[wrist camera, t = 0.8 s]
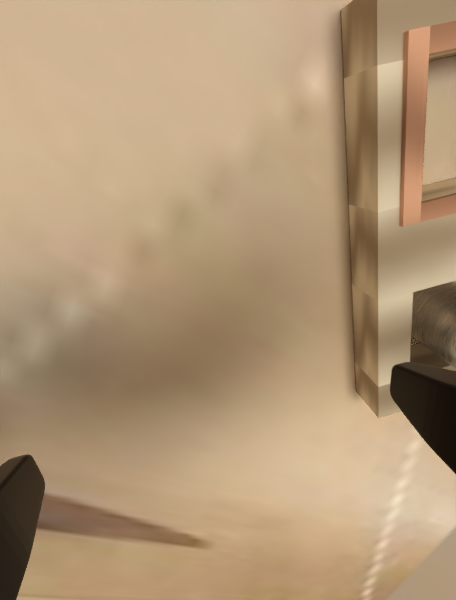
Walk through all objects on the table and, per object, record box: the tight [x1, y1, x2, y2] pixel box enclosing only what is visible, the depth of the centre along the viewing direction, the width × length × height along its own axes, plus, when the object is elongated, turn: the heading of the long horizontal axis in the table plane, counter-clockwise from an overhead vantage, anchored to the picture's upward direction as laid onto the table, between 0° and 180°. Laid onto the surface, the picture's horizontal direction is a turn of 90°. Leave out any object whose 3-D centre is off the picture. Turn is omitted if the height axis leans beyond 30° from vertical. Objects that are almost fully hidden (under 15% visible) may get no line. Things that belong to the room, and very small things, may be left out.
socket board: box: [341, 0, 456, 418], centre depth 20 cm, size 24×11×3 cm, turn 11°
